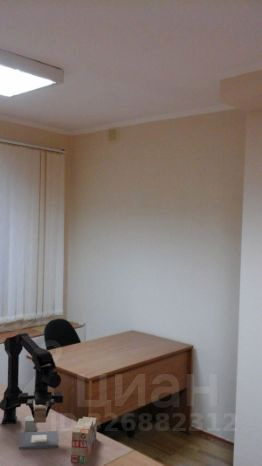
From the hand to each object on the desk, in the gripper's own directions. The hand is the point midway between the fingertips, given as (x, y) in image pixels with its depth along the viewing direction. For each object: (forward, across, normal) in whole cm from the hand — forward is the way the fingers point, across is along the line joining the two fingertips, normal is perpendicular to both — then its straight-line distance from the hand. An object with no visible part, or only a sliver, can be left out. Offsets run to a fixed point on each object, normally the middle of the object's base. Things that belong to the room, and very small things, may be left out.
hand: (39, 417), depth 185 cm
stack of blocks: (+10, +19, -10) cm, 23 cm away
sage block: (+10, -4, +11) cm, 16 cm away
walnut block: (+1, 0, 0) cm, 1 cm away
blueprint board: (+10, 0, 0) cm, 10 cm away
